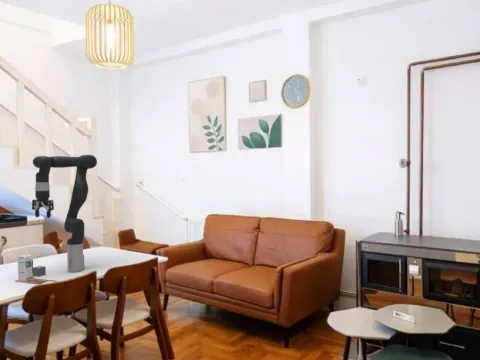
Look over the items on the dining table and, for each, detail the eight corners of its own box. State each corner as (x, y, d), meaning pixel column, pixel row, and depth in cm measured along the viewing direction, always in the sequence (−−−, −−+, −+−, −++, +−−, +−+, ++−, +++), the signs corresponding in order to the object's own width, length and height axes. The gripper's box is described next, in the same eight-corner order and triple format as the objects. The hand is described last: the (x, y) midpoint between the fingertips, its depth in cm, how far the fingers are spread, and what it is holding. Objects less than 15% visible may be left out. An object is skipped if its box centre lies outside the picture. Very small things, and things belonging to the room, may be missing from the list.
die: (39, 273, 242) (39, 265, 242) (45, 274, 241) (45, 266, 240) (32, 276, 238) (32, 267, 238) (38, 276, 236) (38, 268, 236)
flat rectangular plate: (26, 277, 233) (26, 277, 233) (60, 281, 225) (60, 281, 225) (14, 281, 226) (14, 281, 226) (48, 285, 217) (48, 285, 217)
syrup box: (25, 281, 224) (24, 256, 224) (17, 280, 226) (17, 255, 226) (33, 279, 230) (33, 254, 229) (26, 278, 232) (25, 253, 231)
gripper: (56, 189, 232) (57, 217, 233) (38, 189, 237) (38, 216, 238) (46, 190, 225) (47, 218, 226) (27, 190, 230) (28, 217, 231)
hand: (42, 217), depth 232 cm, fingers open, 8 cm apart
